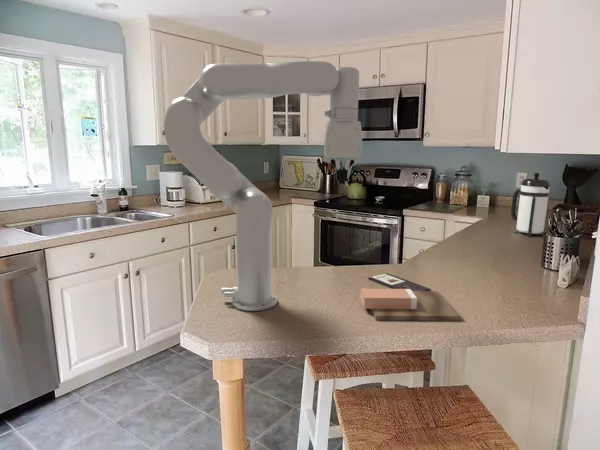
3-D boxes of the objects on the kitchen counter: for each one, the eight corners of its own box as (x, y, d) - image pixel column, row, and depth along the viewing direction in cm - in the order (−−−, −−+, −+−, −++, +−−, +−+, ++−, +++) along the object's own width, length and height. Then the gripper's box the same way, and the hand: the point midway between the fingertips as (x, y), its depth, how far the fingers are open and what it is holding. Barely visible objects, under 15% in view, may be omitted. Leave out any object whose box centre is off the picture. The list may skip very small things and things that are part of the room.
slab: (364, 297, 114) (417, 298, 114) (360, 288, 120) (410, 289, 121) (364, 308, 114) (416, 308, 114) (360, 298, 121) (409, 299, 121)
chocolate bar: (410, 294, 127) (368, 277, 141) (410, 297, 127) (368, 280, 141) (430, 288, 132) (387, 273, 146) (430, 291, 132) (387, 275, 146)
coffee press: (547, 232, 214) (555, 172, 207) (545, 239, 200) (554, 174, 194) (509, 228, 223) (516, 170, 216) (505, 234, 209) (512, 172, 203)
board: (375, 319, 110) (375, 315, 110) (364, 294, 128) (364, 290, 127) (460, 320, 110) (461, 316, 110) (437, 294, 128) (437, 291, 128)
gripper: (316, 114, 112) (315, 184, 116) (373, 115, 112) (370, 185, 116) (315, 116, 119) (314, 181, 123) (368, 116, 120) (365, 182, 123)
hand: (341, 183), depth 120 cm, fingers closed
